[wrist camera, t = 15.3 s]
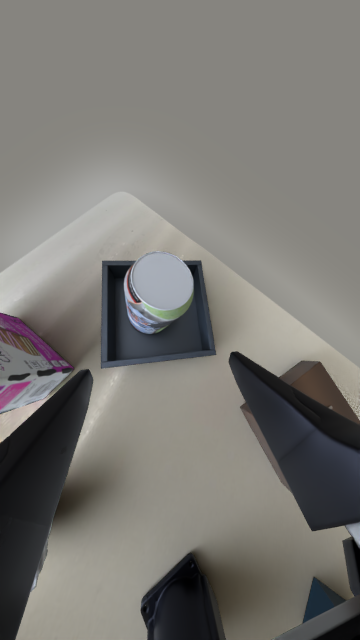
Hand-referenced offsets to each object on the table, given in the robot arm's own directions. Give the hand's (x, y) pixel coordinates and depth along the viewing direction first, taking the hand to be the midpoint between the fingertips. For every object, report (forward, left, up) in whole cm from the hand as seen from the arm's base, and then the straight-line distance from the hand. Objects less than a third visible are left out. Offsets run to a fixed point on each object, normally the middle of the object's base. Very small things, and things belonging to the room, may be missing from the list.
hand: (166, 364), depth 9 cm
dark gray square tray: (+3, +6, -13) cm, 15 cm away
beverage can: (+2, +6, -12) cm, 14 cm away
